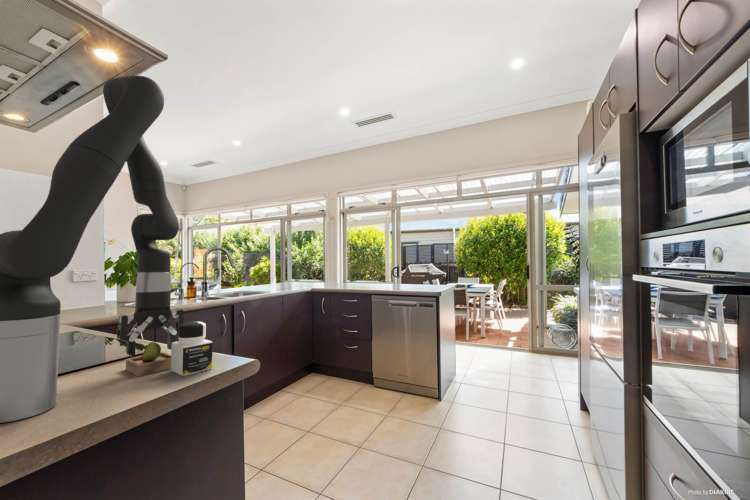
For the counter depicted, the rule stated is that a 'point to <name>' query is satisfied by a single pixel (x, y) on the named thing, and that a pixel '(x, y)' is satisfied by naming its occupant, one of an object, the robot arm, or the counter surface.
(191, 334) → the medicine bottle
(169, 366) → the base
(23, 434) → the counter surface
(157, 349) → the lime
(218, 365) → the counter surface
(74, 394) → the counter surface
